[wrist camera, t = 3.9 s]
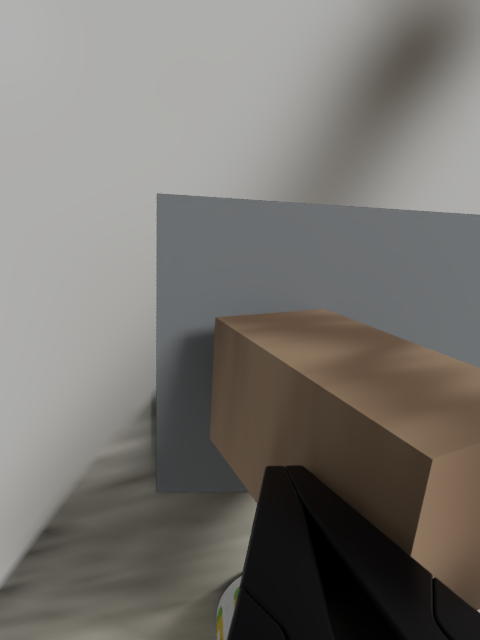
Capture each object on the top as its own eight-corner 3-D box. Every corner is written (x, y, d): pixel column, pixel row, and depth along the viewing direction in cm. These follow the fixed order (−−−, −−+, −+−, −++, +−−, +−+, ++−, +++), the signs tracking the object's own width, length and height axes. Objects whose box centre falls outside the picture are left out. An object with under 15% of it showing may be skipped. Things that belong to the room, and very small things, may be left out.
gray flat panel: (533, 218, 15) (541, 218, 14) (463, 485, 18) (469, 491, 17) (158, 194, 13) (157, 193, 13) (157, 485, 17) (156, 492, 16)
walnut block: (324, 308, 15) (579, 406, 8) (311, 415, 16) (521, 579, 9) (215, 317, 12) (432, 459, 6) (209, 438, 14) (383, 675, 7)
